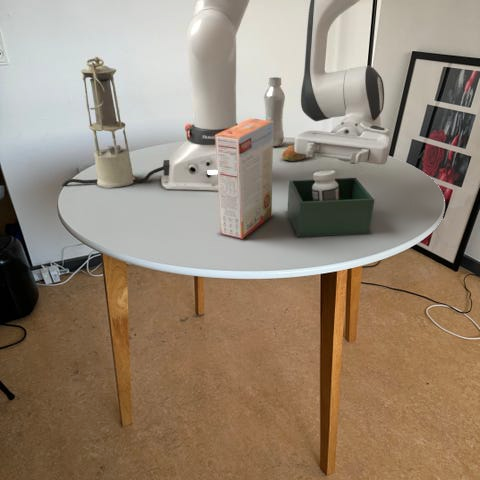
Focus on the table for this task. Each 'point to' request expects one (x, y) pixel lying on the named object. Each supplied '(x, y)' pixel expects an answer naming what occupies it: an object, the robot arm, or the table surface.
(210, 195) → the table surface
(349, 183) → the bin
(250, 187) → the cracker box
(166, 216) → the table surface
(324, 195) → the pill bottle
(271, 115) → the plastic bottle
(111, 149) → the lamp
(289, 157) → the pastry
